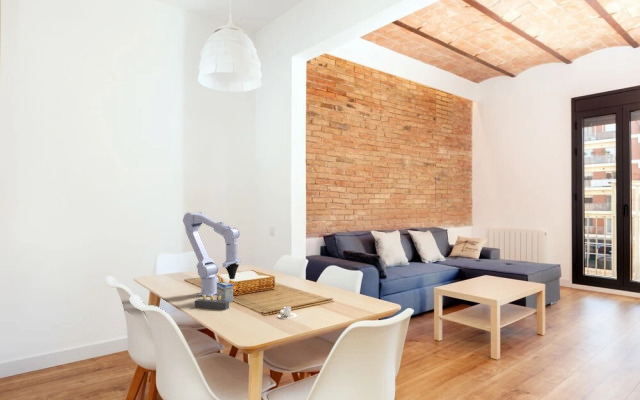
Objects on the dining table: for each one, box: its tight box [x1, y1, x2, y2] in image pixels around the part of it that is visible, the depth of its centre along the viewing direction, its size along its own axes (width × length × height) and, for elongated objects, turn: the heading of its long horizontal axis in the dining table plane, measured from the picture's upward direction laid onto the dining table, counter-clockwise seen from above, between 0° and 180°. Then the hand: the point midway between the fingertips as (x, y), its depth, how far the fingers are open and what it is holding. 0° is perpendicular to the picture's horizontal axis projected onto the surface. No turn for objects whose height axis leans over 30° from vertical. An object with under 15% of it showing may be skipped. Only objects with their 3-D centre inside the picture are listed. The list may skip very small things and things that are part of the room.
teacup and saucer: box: [277, 305, 297, 320], centre depth 164 cm, size 9×8×4 cm
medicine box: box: [216, 281, 234, 303], centre depth 188 cm, size 8×4×9 cm, turn 47°
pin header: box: [194, 295, 230, 311], centre depth 177 cm, size 3×16×6 cm, turn 73°
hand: (232, 278), depth 194 cm, fingers closed
